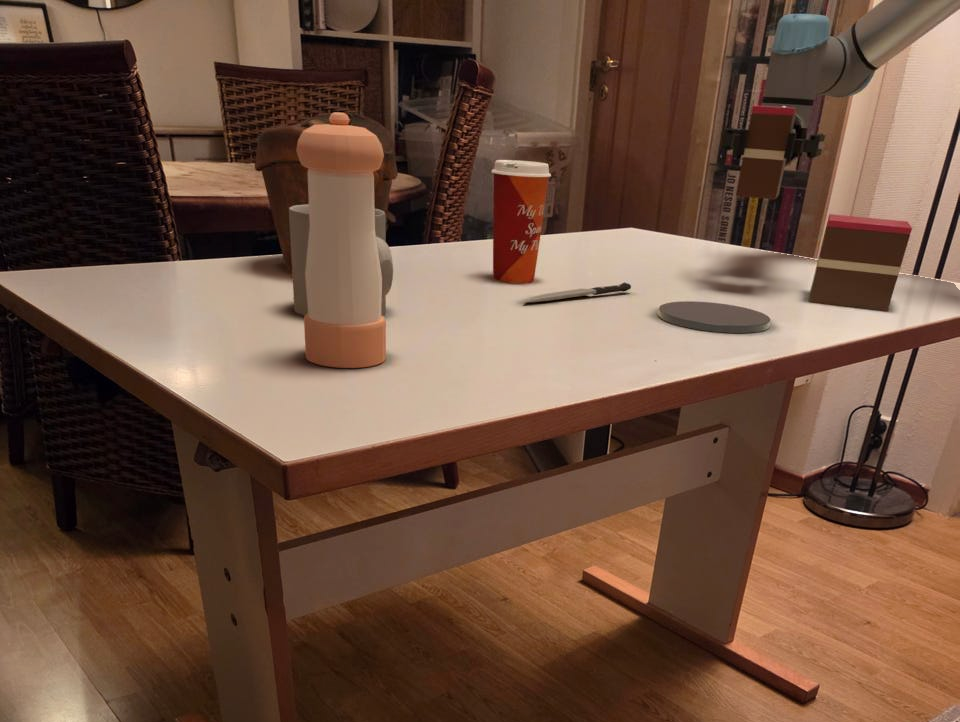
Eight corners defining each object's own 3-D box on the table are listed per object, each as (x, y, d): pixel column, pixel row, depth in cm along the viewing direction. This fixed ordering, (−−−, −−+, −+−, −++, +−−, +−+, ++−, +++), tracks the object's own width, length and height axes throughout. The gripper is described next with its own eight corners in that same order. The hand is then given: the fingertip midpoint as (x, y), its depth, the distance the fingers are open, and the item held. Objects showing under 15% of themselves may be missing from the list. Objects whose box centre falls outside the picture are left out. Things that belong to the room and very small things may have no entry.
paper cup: (525, 287, 113) (535, 165, 105) (475, 278, 116) (481, 160, 108) (551, 279, 119) (562, 163, 111) (502, 271, 122) (509, 158, 114)
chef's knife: (507, 301, 105) (523, 304, 103) (507, 291, 104) (523, 294, 102) (616, 289, 115) (632, 291, 113) (616, 279, 115) (633, 282, 113)
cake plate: (772, 316, 106) (773, 309, 105) (765, 338, 95) (767, 331, 95) (666, 303, 109) (667, 296, 109) (649, 323, 98) (650, 316, 98)
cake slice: (778, 195, 117) (797, 108, 111) (775, 199, 110) (794, 107, 105) (741, 191, 118) (757, 106, 113) (735, 196, 112) (752, 105, 106)
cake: (884, 300, 119) (908, 221, 114) (887, 311, 113) (912, 227, 108) (809, 292, 122) (829, 214, 117) (808, 301, 116) (829, 219, 110)
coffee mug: (280, 303, 96) (274, 204, 91) (362, 299, 101) (360, 203, 95) (329, 331, 87) (325, 222, 81) (416, 324, 91) (418, 220, 86)
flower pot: (283, 285, 105) (272, 113, 95) (248, 257, 120) (236, 105, 110) (419, 282, 112) (423, 121, 102) (370, 255, 127) (369, 113, 117)
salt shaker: (291, 352, 79) (276, 108, 69) (359, 344, 83) (355, 111, 73) (330, 372, 74) (321, 113, 64) (401, 362, 78) (402, 116, 68)
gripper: (718, 106, 126) (697, 104, 107) (848, 114, 121) (850, 113, 102) (708, 164, 130) (686, 172, 111) (833, 174, 125) (833, 184, 106)
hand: (765, 144), depth 107 cm, fingers closed on cake slice, 5 cm apart
